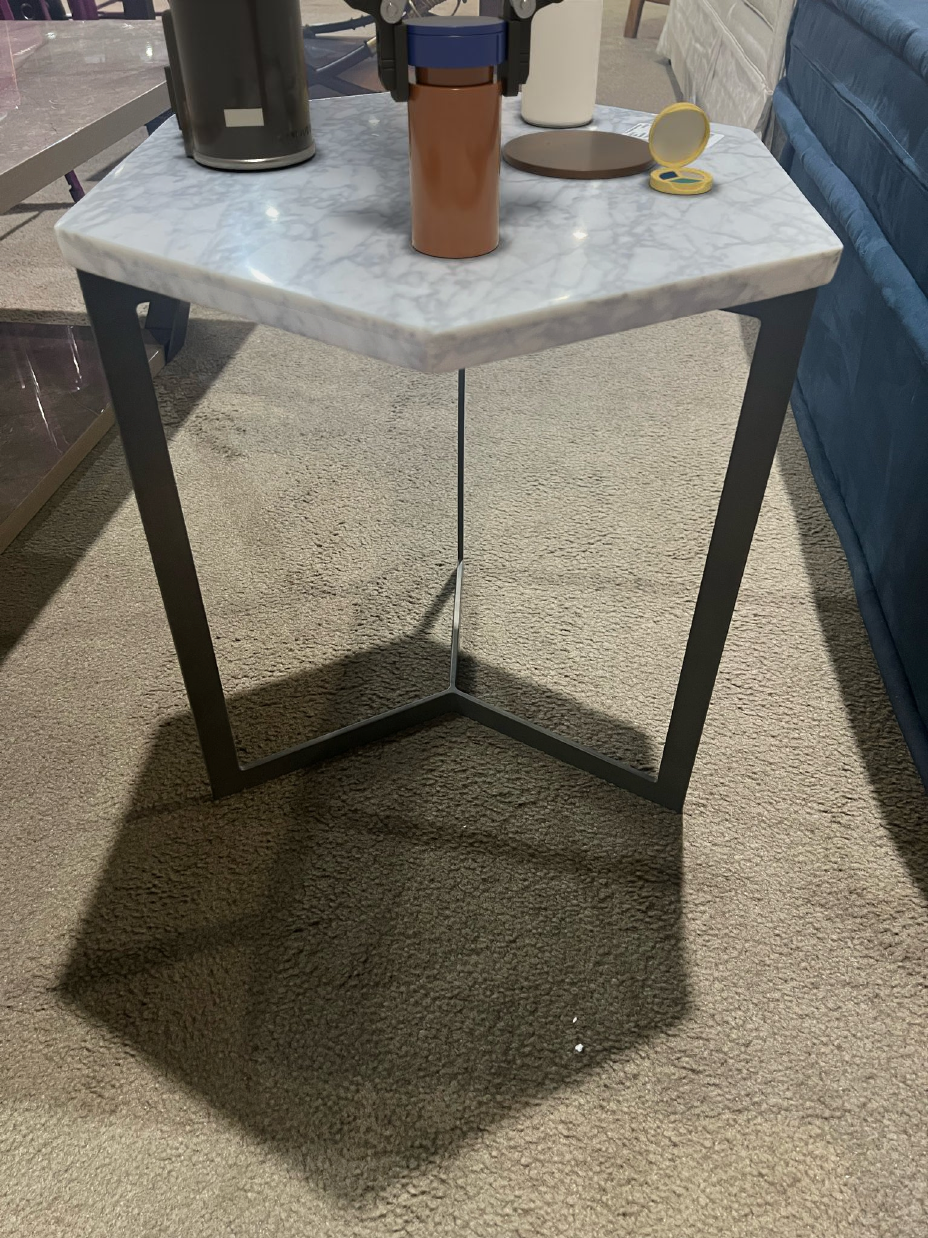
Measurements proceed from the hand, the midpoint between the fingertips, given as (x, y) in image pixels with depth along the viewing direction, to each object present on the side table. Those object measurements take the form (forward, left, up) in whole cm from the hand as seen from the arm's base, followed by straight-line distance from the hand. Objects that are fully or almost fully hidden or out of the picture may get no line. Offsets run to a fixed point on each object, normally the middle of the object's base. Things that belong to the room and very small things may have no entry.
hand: (454, 95), depth 52 cm
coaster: (-2, +22, -8) cm, 24 cm away
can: (-9, +32, -8) cm, 34 cm away
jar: (0, 0, -8) cm, 8 cm away
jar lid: (0, 0, +3) cm, 3 cm away
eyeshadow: (+7, +19, -8) cm, 22 cm away
